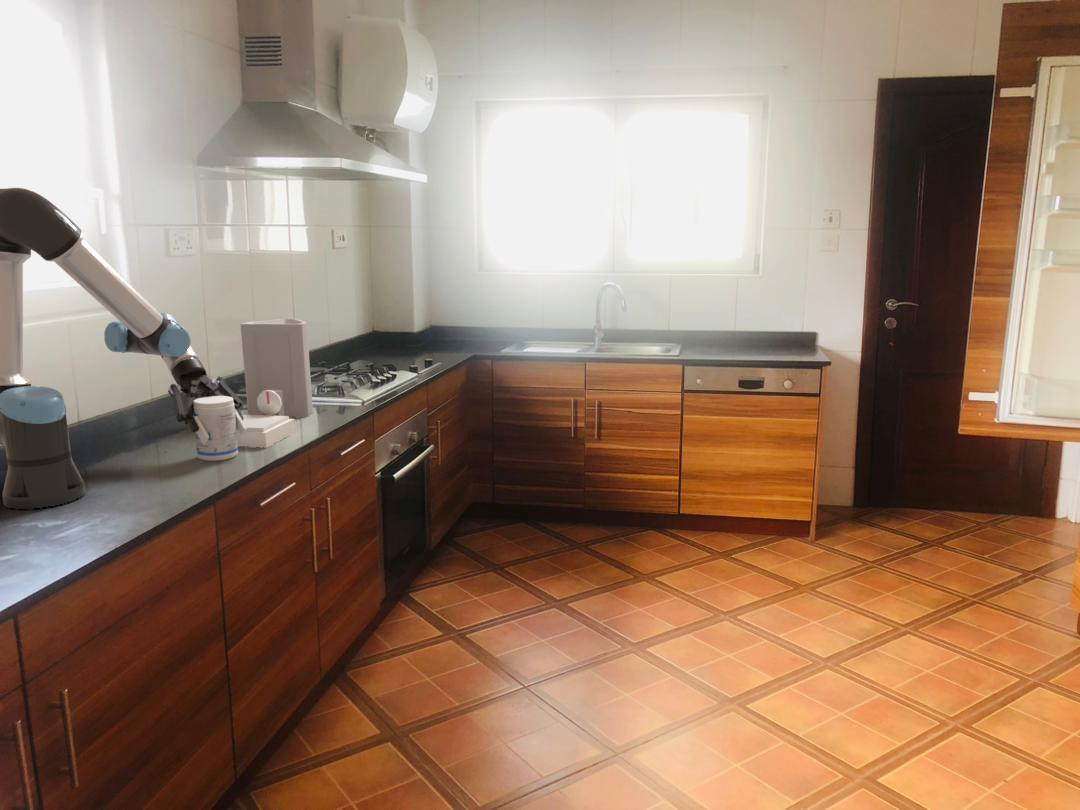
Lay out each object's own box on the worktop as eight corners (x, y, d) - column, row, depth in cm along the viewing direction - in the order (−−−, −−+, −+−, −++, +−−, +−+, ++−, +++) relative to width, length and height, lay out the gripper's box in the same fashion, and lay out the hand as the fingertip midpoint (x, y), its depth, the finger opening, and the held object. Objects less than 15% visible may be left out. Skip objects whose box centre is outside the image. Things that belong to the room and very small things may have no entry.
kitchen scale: (266, 447, 216) (263, 404, 214) (210, 445, 219) (206, 402, 216) (303, 428, 236) (300, 388, 234) (251, 426, 239) (248, 387, 237)
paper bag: (325, 406, 265) (319, 318, 259) (307, 417, 250) (301, 324, 245) (268, 405, 267) (261, 318, 261) (247, 416, 253) (239, 324, 247)
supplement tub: (189, 460, 205) (183, 402, 202) (214, 450, 214) (209, 394, 211) (222, 463, 202) (216, 404, 199) (246, 453, 211) (241, 396, 208)
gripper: (220, 369, 221) (259, 436, 215) (137, 382, 204) (177, 454, 198) (229, 351, 217) (270, 418, 211) (146, 362, 200) (187, 436, 194)
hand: (225, 436), depth 204 cm, fingers closed on supplement tub, 9 cm apart
